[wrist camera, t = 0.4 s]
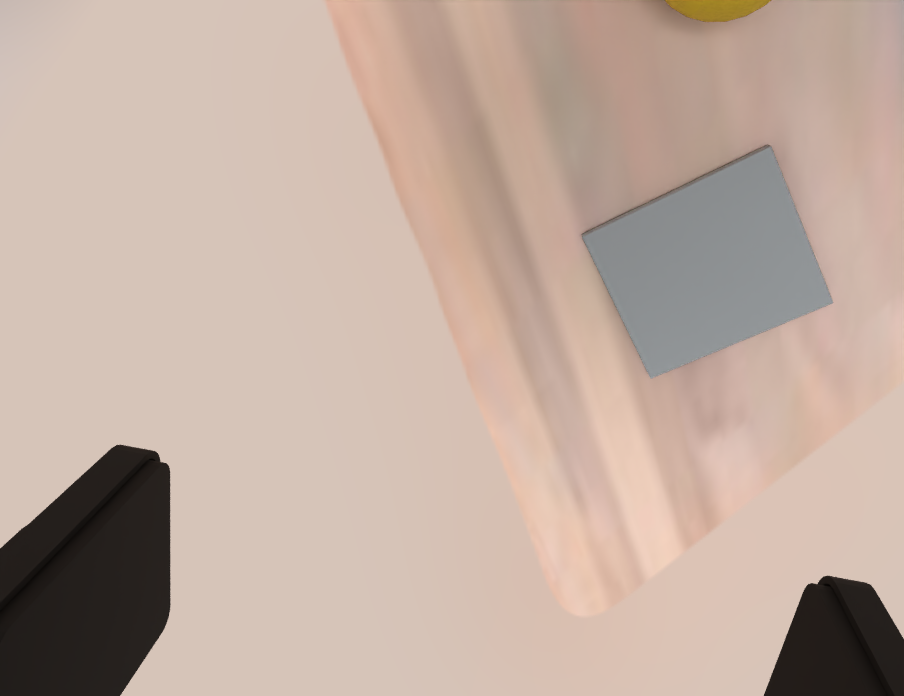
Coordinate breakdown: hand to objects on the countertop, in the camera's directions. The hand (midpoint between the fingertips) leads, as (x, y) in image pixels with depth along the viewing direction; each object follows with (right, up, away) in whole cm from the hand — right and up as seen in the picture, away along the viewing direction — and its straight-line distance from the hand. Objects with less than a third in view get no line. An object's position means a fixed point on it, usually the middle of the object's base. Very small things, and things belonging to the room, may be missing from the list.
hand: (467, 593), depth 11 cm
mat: (+12, +7, +26) cm, 29 cm away
